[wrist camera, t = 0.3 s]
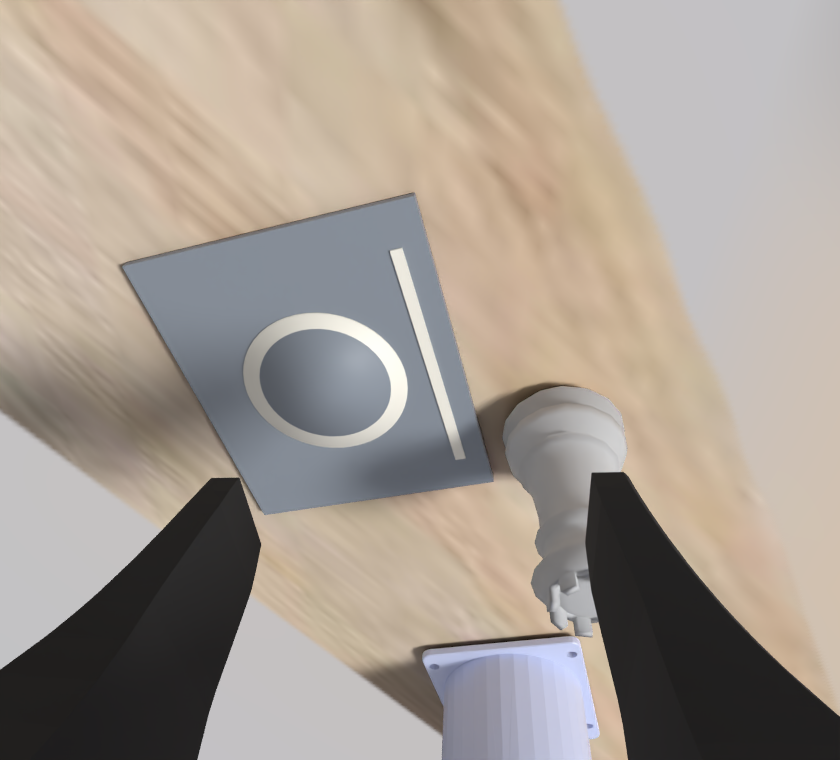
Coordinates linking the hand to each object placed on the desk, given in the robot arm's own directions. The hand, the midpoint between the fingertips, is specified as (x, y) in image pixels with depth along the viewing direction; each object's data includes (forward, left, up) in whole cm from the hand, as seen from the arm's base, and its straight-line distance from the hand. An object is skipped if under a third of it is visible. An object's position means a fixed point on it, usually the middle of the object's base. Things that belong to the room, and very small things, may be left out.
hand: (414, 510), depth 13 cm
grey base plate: (-3, +5, -10) cm, 11 cm away
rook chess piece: (-7, -3, -10) cm, 13 cm away
